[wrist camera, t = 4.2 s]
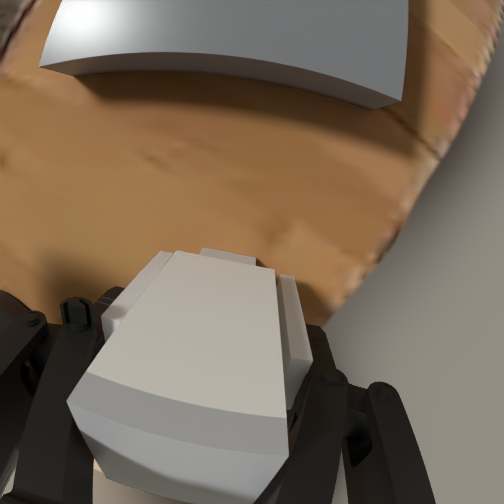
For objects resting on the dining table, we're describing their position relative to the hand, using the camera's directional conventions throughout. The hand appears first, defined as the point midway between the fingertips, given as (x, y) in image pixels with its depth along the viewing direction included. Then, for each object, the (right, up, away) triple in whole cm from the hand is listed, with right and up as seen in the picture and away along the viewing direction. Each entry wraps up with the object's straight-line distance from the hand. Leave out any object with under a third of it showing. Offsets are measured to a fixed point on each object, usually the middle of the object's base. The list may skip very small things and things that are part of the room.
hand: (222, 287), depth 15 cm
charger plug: (0, 0, +1) cm, 1 cm away
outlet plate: (+1, +19, -5) cm, 19 cm away
